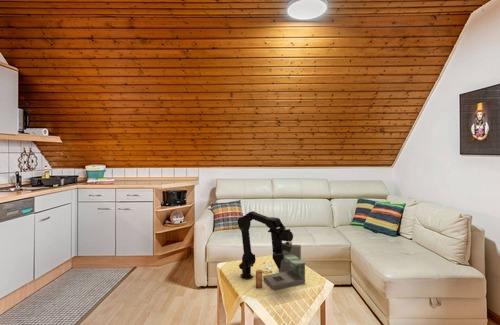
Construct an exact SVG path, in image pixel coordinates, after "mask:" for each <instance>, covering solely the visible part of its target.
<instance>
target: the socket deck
mask: <svg viewBox="0 0 500 325" xmlns="http://www.w3.org/2000/svg"><path fill="white" fill-rule="evenodd" d="M262 282H264V283H265V284H266V285H267V286H268V287H269V288H270V289H271V290H272V292H273V291H277V290H278V291H279V290H282V289H287V288H291V287H296V286H301V285H305V284H306V278H305V279H302V278H301V277H300V276H298V275H297V274H296V273H295V272H293V271H292V270H290V271H285V272H280V273H279V272H275V273H271V274H265V275H262Z"/></svg>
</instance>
